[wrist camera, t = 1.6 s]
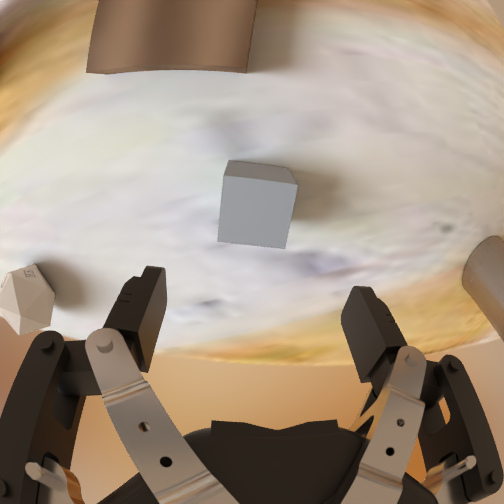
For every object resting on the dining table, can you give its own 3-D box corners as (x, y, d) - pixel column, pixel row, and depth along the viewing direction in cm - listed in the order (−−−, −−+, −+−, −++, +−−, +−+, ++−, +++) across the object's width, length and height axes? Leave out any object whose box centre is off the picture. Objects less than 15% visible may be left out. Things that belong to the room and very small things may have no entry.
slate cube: (288, 167, 22) (298, 184, 18) (278, 221, 25) (284, 249, 20) (228, 160, 22) (223, 175, 18) (222, 214, 24) (217, 241, 20)
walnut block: (265, -39, 12) (268, -59, 9) (246, 74, 18) (245, 67, 15) (131, -33, 11) (115, -48, 8) (109, 74, 17) (86, 72, 14)
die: (61, 260, 27) (-7, 267, 19) (73, 329, 28) (8, 346, 19) (42, 263, 31) (-13, 269, 22) (51, 321, 31) (-2, 334, 23)
